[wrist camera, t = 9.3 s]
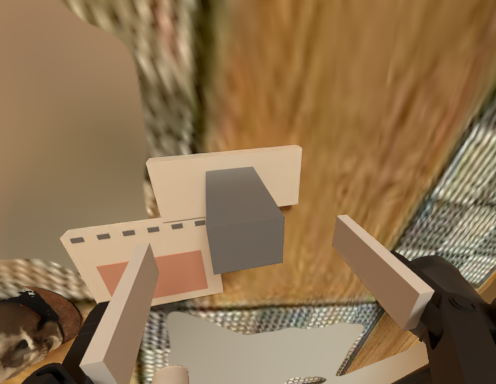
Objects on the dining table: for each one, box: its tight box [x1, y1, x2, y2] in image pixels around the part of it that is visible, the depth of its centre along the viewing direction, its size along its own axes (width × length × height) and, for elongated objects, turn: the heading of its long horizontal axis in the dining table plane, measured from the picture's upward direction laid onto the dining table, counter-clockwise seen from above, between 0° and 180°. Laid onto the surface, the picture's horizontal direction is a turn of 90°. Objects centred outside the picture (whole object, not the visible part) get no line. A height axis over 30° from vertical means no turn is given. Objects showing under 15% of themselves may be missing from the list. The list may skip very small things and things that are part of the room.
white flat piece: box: [60, 217, 223, 306], centre depth 26 cm, size 13×16×2 cm
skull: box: [0, 286, 81, 384], centre depth 26 cm, size 12×10×10 cm
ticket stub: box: [146, 145, 302, 275], centre depth 19 cm, size 7×16×12 cm, turn 93°
